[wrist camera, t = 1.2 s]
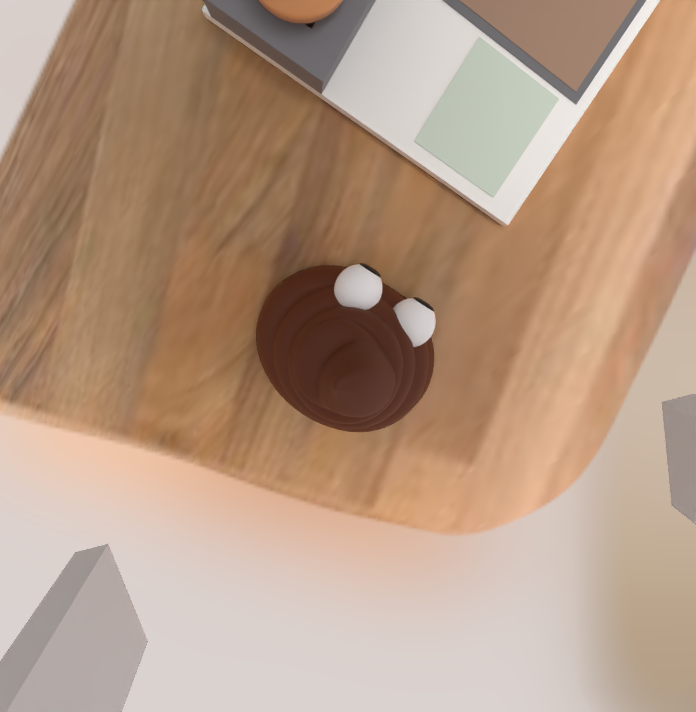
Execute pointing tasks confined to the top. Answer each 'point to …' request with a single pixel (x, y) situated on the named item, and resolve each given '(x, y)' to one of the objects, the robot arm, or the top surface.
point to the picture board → (453, 78)
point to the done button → (301, 9)
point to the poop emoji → (346, 347)
